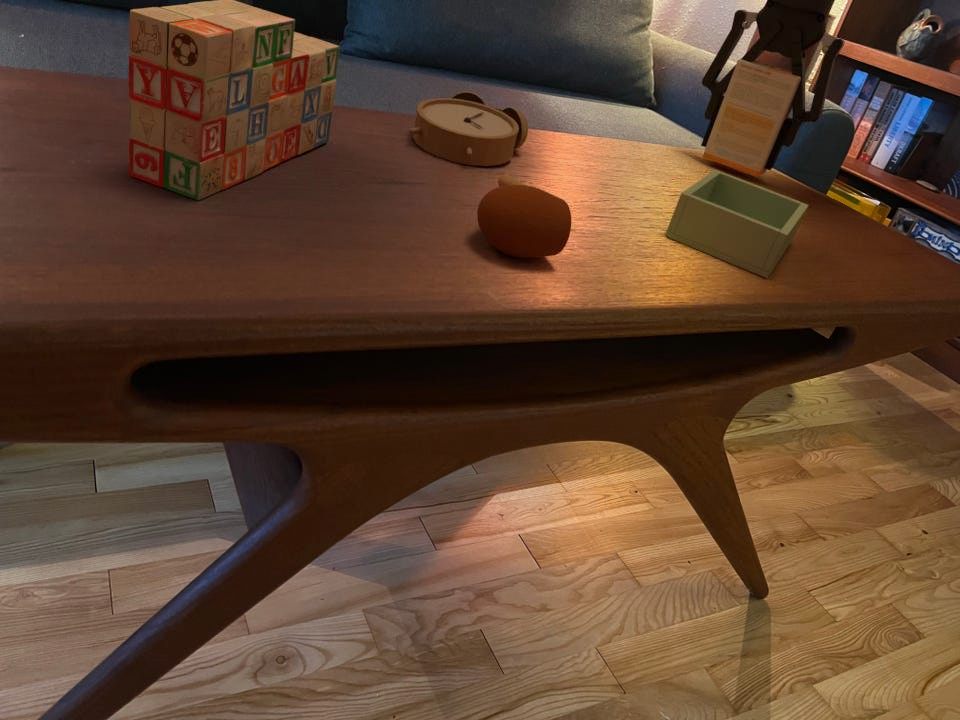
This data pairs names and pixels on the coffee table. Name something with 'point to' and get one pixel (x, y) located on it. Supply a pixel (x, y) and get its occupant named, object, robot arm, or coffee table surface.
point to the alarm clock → (469, 130)
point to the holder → (736, 221)
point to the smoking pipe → (524, 219)
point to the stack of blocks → (223, 94)
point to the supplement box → (751, 116)
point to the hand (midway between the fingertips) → (736, 156)
